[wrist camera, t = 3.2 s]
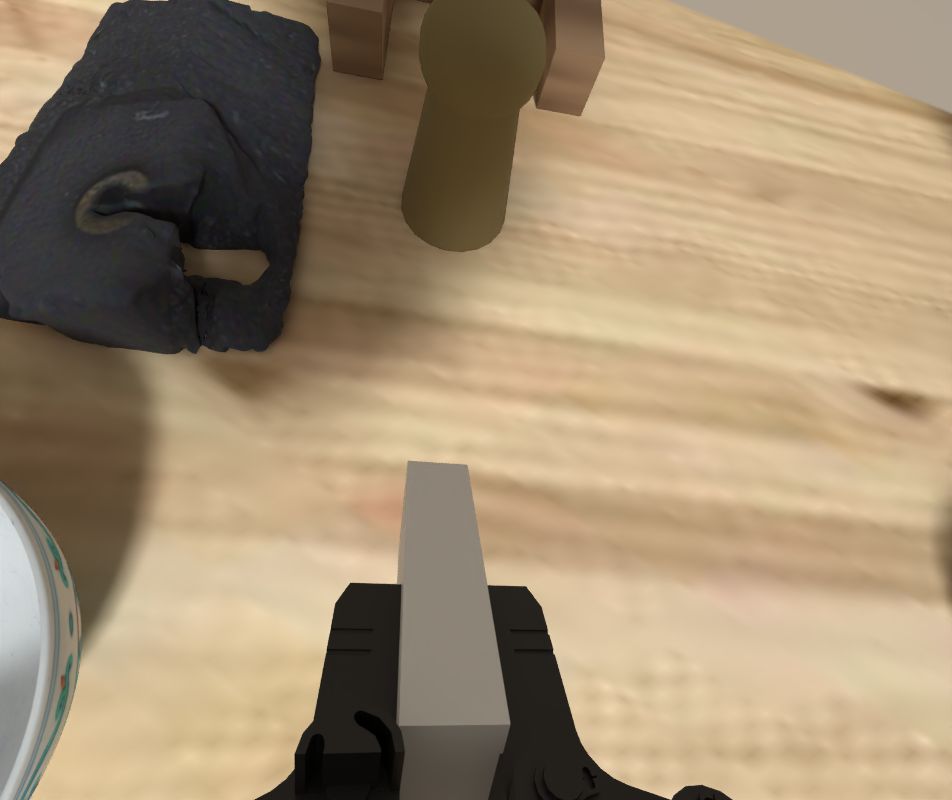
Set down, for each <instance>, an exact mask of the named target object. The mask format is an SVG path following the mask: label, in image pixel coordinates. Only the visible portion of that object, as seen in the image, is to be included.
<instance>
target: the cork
mask: <svg viewBox="0 0 952 800" xmlns="http://www.w3.org/2000/svg"><path fill="white" fill-rule="evenodd" d="M419 59H420V64H421V69H422V73H423V75H424V78H425V81H426V83H427V85H428V88H427V93H426V97H425V101H424V105H423V109H422V114H421V118H420V122H419V126H418V131H417V135H416V139H415V143H414V148H413V152H412V156H411V160H410V164H409V169H408V173H407V177H406V181H405V186H404V190H403V194H402V207H401V208H402V211H403V215H404V218H405V221H406V223H407V224H408V225H409V227H410V228H411V229H412V231H413V232H414V233H415V234H416V235H417V236H418V237H420V238H421V239H422V240H424V241H425V242H427V243H428V244H430V245H433V246H435V247H438V248H440V249H443V250H448V251H457V252H464V251H470V250H476V249H479V248H481V247H483V246H485V245H487V244H489V243H490V242H491V241H492V240H493V239H494V238H495V237H496V236H497V235H498V234H499V233H500V230H501V228H502V225H503V223H504V219H505V212H506V205H507V198H508V190H509V183H510V176H511V169H512V161H513V154H514V147H515V139H516V132H517V125H518V118H519V110H520V108H522V107H523V106H524V105H525V104H526V103H527V102H528V101H529V100H530V98H531V97H532V95H533V94H534V92H535V90H536V88H537V86H538V84H539V81H540V79H541V76H542V73H543V70H544V67H545V64H546V36H545V32H544V28H543V24H542V22H541V20H540V18H539V15H538V13H537V11H536V10H535V9H534V8H533V7H532V6H531V5H530V4H529V3H528V2H527V1H526V0H434V1H433V2H432V3H431V5H430V7H429V8H428V10H427V12H426V13H425V16H424V19H423V22H422V25H421V31H420V48H419Z"/></svg>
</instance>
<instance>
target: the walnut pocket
mask: <svg viewBox="0 0 952 800" xmlns="http://www.w3.org/2000/svg"><path fill="white" fill-rule="evenodd" d="M418 1H423V2H428V3H432V2H433V1H434V0H418ZM526 1H527V2H528V3H529V4H530V5H531V6H532V7H533V8H534V9H535V10H536V11H537V13H538V15H539V18H540V20H541V22H542V24H543V28H544V32H545V36H546V64H545V67H544V70H543V73H542V76H541V79H540V81H539V84H538V86H537V108H539V109H544V110H550V111H555V112H561V113H566V114H572V115H577V116H581V114H582V111H583V109H584V107H585V104H586V102H587V100H588V97H589V95H590V92H591V90H592V88H593V85H594V83H595V81H596V78H597V76H598V73H599V71H600V69H601V66H602V64H603V62H604V59H605V52H604V38H603V24H602V10H601V0H526ZM393 2H394V0H327V1H326V3H327V13H328V23H329V33H330V43H331V53H332V63H333V71H338V72H343V73H349V74H354V75H360V76H365V77H370V78H376V79H381V80H382V79H383V72H384V65H385V58H386V51H387V44H388V37H389V30H390V23H391V16H392V9H393Z"/></svg>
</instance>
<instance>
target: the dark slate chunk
mask: <svg viewBox="0 0 952 800" xmlns="http://www.w3.org/2000/svg"><path fill="white" fill-rule="evenodd" d="M318 43H319V39H318V37H317V36H316V34H315V33H314V32H313V30H312V29H311V28H310V27H309V26H307V25H305V24H303V23H301V22H298V21H294V20H290V19H286V18H283V17H280V16H276V15H273V14H271V13H269V12H267V11H263V12H258V11H252V10H251V8H250V6H249V5H244V4H240V3H236V2H232V1H229V0H168V1H147V0H129V1H127V2H124V3H119V2H117V3H113V4H112V5H111V6H110V7H109V9H108V10H107V12H106V14H105V15H104V17H103V18H102V20H101V21H100V24H99V26H98V27H97V29H96V30H95V32H94V33H93V34H92V36H91V38H90V40H89V42H88V44H87V48H86V50H85V53H84V55H83V57H82V59H81V60H80V61H78V62H77V63H75V64H74V66H73V68H72V70H71V71H70V72H69V73H68V75H67V76H66V77H65V79H64V81H63V84H62V86H61V87H60V88H59V89H58V90H57V91H56V93H55V94H54V95H53V96H52V98H50V99H49V100H48V101H47V102H46V103H45V104H44V105H43V107H42V108H41V109H40V111H39V112H38V114H37V115H36V117H35V119H34V120H33V122H32V123H31V125H30V127H29V130H28V132H25V133H23V134H21V135H19V136H18V137H17V139H16V141H15V147H14V148H13V149H12V151H11V152H10V154H9V156H8V157H7V158H6V159H5V160H4V161H3V162H2V163H1V164H0V318H4V319H9V320H14V321H20V322H26V323H33V324H40V325H46V326H49V327H51V328H52V329H54V330H56V331H58V332H60V333H62V334H64V335H65V336H67V337H69V338H72V339H74V340H77V341H81V342H86V343H92V344H98V345H102V346H106V347H114V348H126V349H133V350H141V351H148V352H154V353H161V354H176V353H179V352H180V351H181V350H183V349H184V348H186V349H188V350H189V351H190V352H192V353H195V354H196V353H197V351H198V349H199V348H200V346H201V345H204V346H206V347H208V348H209V349H212V350H215V351H219V352H226V351H227V350H228V349H229V348H234V349H237V350H241V351H247V350H250V349H254V350H255V351H257V352H262V351H264V350H266V349H267V347H268V346H269V345H270V344H271V343H272V342H273V341H274V340H275V339H276V338H278V337H279V335H280V334H281V330H282V328H283V318H282V317H283V312H284V310H285V309H286V307H287V305H288V302H289V298H290V295H291V288H290V280H291V277H292V273H293V264H294V260H295V257H296V251H297V244H298V239H299V234H300V220H301V218H302V210H303V205H302V200H303V198H304V190H303V185H304V183H305V181H306V179H307V177H308V171H307V164H308V158H309V155H310V151H311V144H312V137H311V128H310V125H311V123H312V112H313V109H312V104H313V100H314V79H315V76H316V74H317V72H318V70H319V65H320V61H321V58H320V55H319V53H318ZM180 242H184V243H189V244H190V245H191V246H193V247H194V248H198V249H210V250H239V249H247V250H261V251H263V252H264V253H265V254H266V256H267V259H268V261H269V263H270V266H269V267H268V268H267V269H266V271H265V272H264V273H263V274H262V276H261V277H260V278H259V279H258V280H257V281H255V282H254V283H253V284H251V285H242V284H241V283H239V282H237V281H231V280H224V279H220V278H205V277H201V276H198V275H193V276H189V277H188V276H184V274H183V272H185V271H187V270H183V266H184V261H185V259H184V256H183V253H182V252H181V244H180ZM205 333H206V334H207V337H206V338H205V339H204V338H203V337H204V336H205ZM198 336H200V337H201V339H199V338H198Z"/></svg>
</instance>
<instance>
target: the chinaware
mask: <svg viewBox="0 0 952 800" xmlns="http://www.w3.org/2000/svg"><path fill="white" fill-rule="evenodd" d="M81 643H82V628H81V615H80V607H79V601H78V596H77V591H76V587H75V584H74V580H73V577H72V574H71V572H70V569H69V566H68V564H67V562H66V559H65V557H64V555H63V553H62V551H61V549H60V547H59V546H58V544H57V542H56V541H55V539H54V537H53V536H52V534H51V533H50V531H49V530H48V528H47V527H46V526H45V524H44V523H43V522H42V520H41V519H40V518H39V517H38V516H37V514H36V513H35V512H34V511H33V510H32V509H31V508H30V507H29V506H28V504H27V503H26V502H25V501H23V500H22V499H21V498H20V497H19V496H18V495H17V494H16V493H15V492H14V491H13V490H12V489H10V488H9V487H8V486H7V485H6V484H5V483H3V482H2V481H1V480H0V800H29V799H30V797H31V796H32V794H33V792H34V790H35V789H36V787H37V785H38V783H39V781H40V779H41V777H42V775H43V774H44V772H45V770H46V768H47V765H48V763H49V761H50V759H51V757H52V755H53V753H54V750H55V748H56V746H57V744H58V741H59V739H60V736H61V734H62V731H63V728H64V726H65V723H66V720H67V717H68V714H69V711H70V707H71V704H72V700H73V696H74V692H75V688H76V683H77V678H78V673H79V666H80V657H81Z"/></svg>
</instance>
